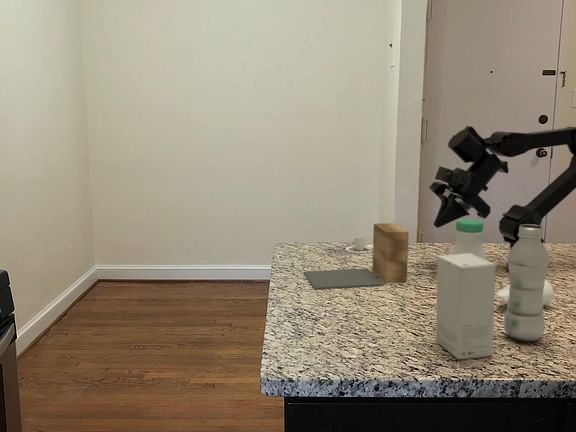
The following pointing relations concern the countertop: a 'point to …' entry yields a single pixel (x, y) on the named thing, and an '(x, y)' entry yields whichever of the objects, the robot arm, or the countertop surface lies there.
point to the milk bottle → (469, 238)
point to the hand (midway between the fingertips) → (435, 226)
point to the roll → (547, 293)
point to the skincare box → (465, 305)
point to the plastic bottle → (526, 285)
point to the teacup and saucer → (360, 244)
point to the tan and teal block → (390, 252)
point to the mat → (342, 278)
